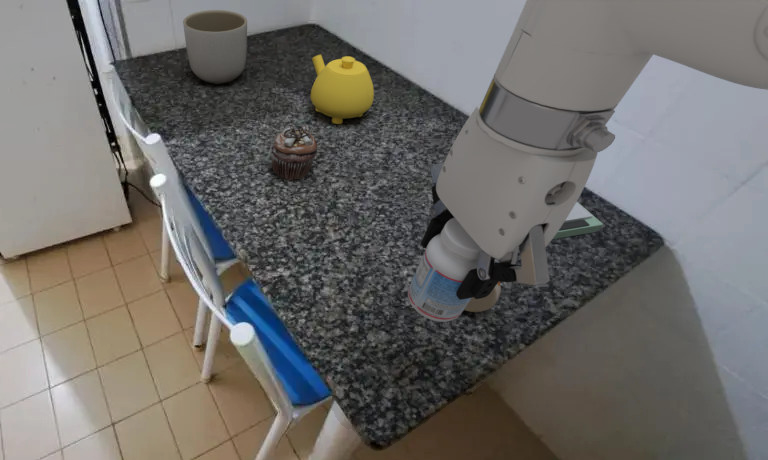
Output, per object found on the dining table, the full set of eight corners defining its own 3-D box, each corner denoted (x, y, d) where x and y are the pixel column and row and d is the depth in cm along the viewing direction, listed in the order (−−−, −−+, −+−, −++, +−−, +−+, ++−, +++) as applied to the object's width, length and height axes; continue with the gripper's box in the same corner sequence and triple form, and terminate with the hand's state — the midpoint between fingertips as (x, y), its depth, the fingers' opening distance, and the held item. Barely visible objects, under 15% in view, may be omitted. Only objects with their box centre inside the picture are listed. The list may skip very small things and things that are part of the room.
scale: (596, 231, 72) (605, 222, 70) (535, 242, 70) (543, 232, 68) (546, 187, 81) (553, 177, 79) (491, 195, 79) (497, 185, 77)
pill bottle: (473, 308, 44) (521, 241, 36) (435, 333, 42) (477, 267, 34) (431, 272, 48) (466, 203, 40) (395, 292, 46) (424, 224, 38)
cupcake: (303, 152, 88) (308, 112, 81) (320, 178, 82) (327, 137, 75) (263, 159, 87) (264, 118, 79) (277, 186, 80) (279, 145, 73)
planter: (182, 87, 109) (175, 29, 98) (197, 62, 121) (192, 8, 110) (242, 92, 108) (241, 34, 97) (251, 66, 120) (251, 11, 109)
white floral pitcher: (504, 282, 64) (534, 273, 55) (461, 322, 64) (484, 319, 54) (468, 250, 67) (490, 235, 57) (426, 288, 66) (442, 280, 57)
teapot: (287, 99, 106) (291, 47, 96) (332, 85, 111) (340, 35, 101) (334, 134, 94) (344, 78, 84) (382, 117, 100) (396, 63, 90)
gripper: (703, 175, 22) (541, 334, 35) (507, 57, 34) (439, 208, 47) (592, 193, 21) (467, 350, 34) (429, 65, 33) (382, 218, 46)
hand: (452, 267), depth 41 cm, fingers closed on pill bottle, 6 cm apart
